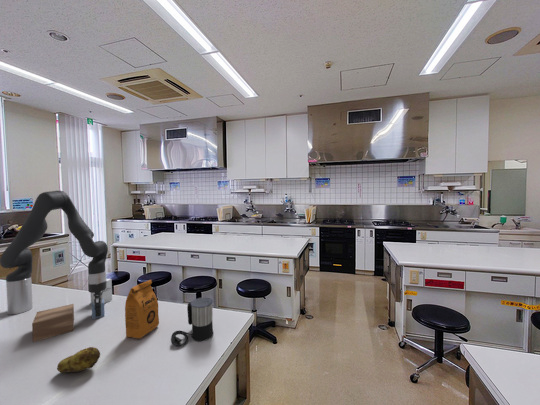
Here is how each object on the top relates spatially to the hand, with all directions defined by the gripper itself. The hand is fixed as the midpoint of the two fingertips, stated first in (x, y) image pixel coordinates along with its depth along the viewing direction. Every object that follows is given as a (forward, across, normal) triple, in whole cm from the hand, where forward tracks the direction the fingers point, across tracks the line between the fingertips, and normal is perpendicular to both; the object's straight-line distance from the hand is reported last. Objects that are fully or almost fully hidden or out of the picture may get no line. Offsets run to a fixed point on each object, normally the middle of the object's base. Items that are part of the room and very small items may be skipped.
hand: (98, 313), depth 121 cm
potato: (+1, +44, -4) cm, 44 cm away
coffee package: (+1, +30, +17) cm, 35 cm away
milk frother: (+1, +48, +34) cm, 59 cm away
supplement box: (+1, -18, +1) cm, 18 cm away
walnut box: (+1, +4, -16) cm, 17 cm away
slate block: (+1, 0, 0) cm, 1 cm away
